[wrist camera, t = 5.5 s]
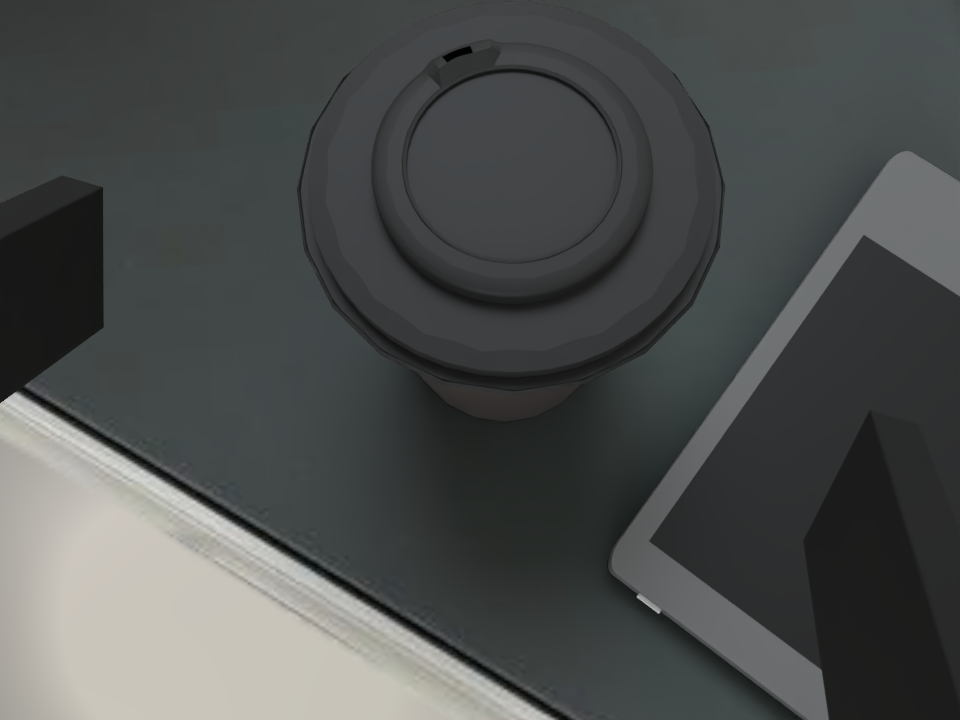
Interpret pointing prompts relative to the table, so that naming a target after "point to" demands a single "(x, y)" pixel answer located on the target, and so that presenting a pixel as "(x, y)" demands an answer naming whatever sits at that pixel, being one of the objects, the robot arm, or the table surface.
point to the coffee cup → (511, 203)
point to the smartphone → (807, 433)
